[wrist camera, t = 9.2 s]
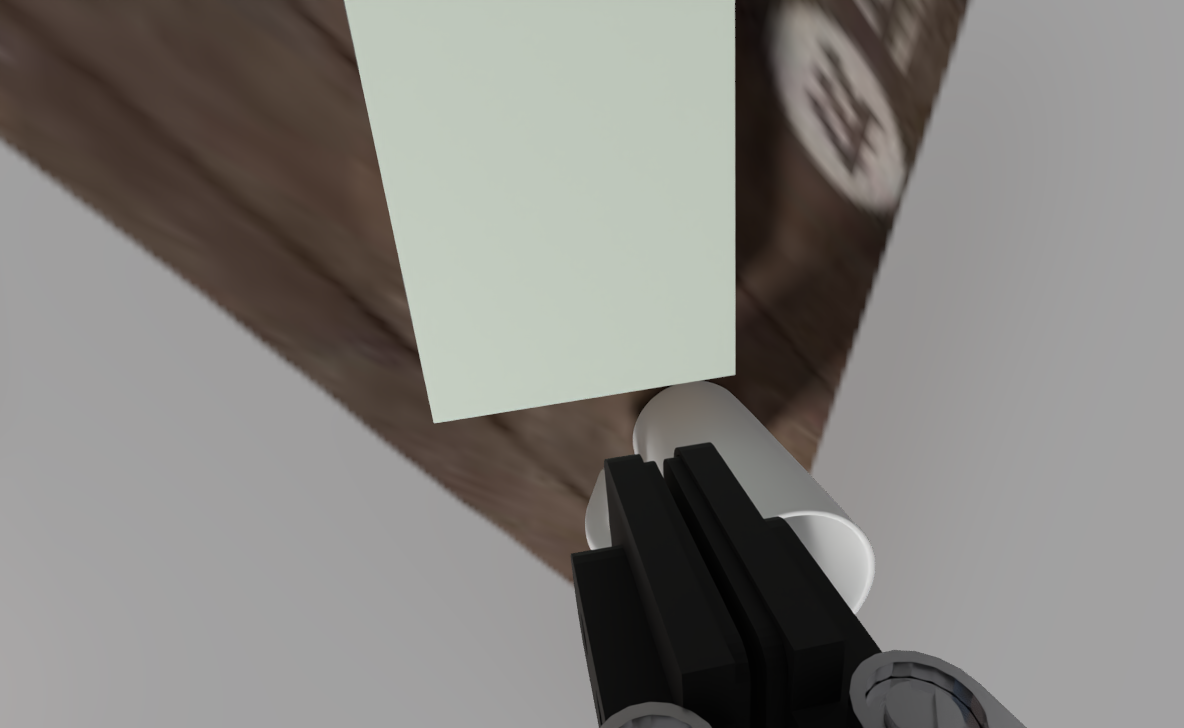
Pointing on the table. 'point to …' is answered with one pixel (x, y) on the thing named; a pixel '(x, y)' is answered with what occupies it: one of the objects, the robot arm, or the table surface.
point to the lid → (557, 191)
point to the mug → (748, 479)
